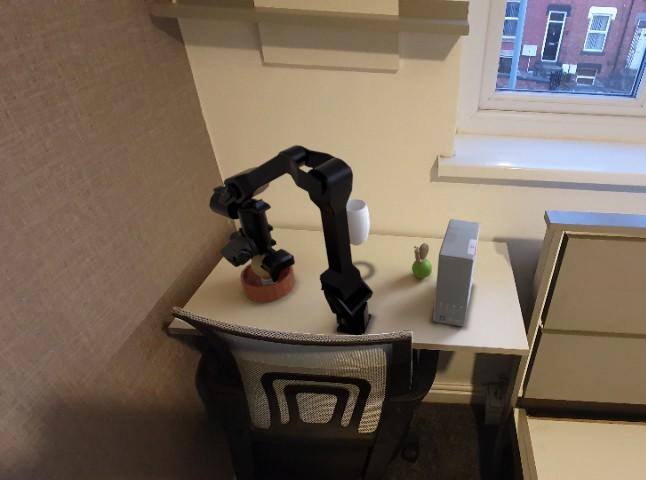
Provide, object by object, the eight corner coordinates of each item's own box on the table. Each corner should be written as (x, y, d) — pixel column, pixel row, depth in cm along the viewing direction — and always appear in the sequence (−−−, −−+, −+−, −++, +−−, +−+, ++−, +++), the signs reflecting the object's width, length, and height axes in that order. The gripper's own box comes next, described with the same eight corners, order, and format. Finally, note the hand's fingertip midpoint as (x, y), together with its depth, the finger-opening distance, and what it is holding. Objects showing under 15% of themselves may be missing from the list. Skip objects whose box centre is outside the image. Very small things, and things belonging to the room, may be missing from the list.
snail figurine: (406, 280, 106) (406, 243, 99) (417, 267, 110) (418, 231, 103) (423, 287, 104) (425, 250, 97) (435, 273, 108) (437, 237, 102)
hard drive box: (464, 328, 93) (473, 261, 81) (432, 322, 94) (436, 255, 82) (472, 285, 105) (480, 222, 94) (444, 280, 106) (449, 217, 95)
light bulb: (273, 296, 98) (265, 264, 92) (251, 290, 99) (242, 258, 94) (288, 280, 103) (282, 249, 97) (268, 274, 104) (260, 244, 99)
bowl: (303, 275, 106) (300, 260, 103) (281, 306, 96) (278, 291, 93) (260, 268, 107) (256, 254, 104) (235, 299, 97) (230, 284, 94)
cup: (340, 275, 106) (333, 209, 94) (353, 260, 112) (347, 195, 100) (365, 281, 104) (360, 214, 93) (376, 265, 110) (373, 200, 98)
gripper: (199, 222, 90) (218, 275, 99) (243, 256, 80) (259, 311, 89) (245, 205, 97) (259, 255, 106) (290, 233, 88) (301, 286, 97)
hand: (268, 276), depth 99 cm, fingers closed on light bulb, 6 cm apart
